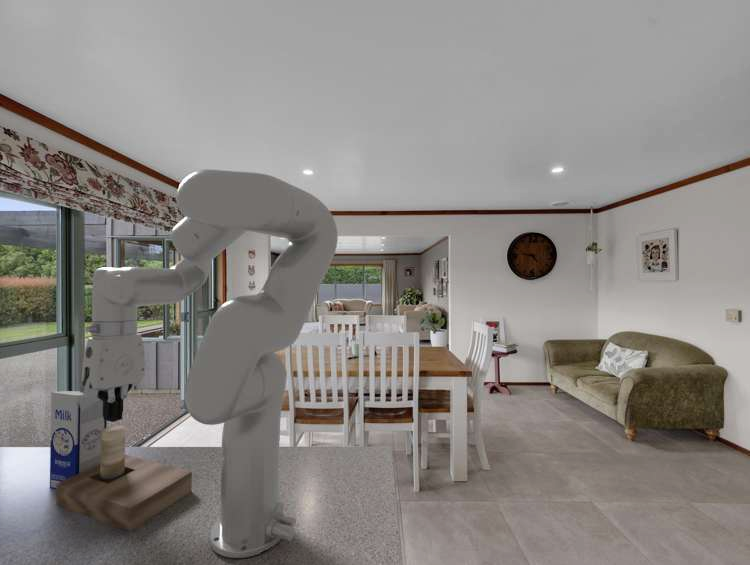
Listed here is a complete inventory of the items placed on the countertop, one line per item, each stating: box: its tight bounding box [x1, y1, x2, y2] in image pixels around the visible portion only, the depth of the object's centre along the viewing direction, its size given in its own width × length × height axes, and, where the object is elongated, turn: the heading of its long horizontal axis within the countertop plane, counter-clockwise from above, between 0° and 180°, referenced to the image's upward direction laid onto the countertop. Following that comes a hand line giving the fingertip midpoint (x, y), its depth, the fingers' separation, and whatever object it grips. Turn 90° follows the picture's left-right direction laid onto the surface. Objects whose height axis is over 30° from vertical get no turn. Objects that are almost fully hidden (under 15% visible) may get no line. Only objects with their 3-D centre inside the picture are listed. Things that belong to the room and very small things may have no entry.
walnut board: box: [55, 454, 193, 532], centre depth 73 cm, size 20×13×4 cm, turn 70°
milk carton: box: [49, 386, 108, 490], centre depth 78 cm, size 7×7×20 cm
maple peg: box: [100, 424, 126, 484], centre depth 74 cm, size 4×4×12 cm
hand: (112, 419), depth 74 cm, fingers closed
